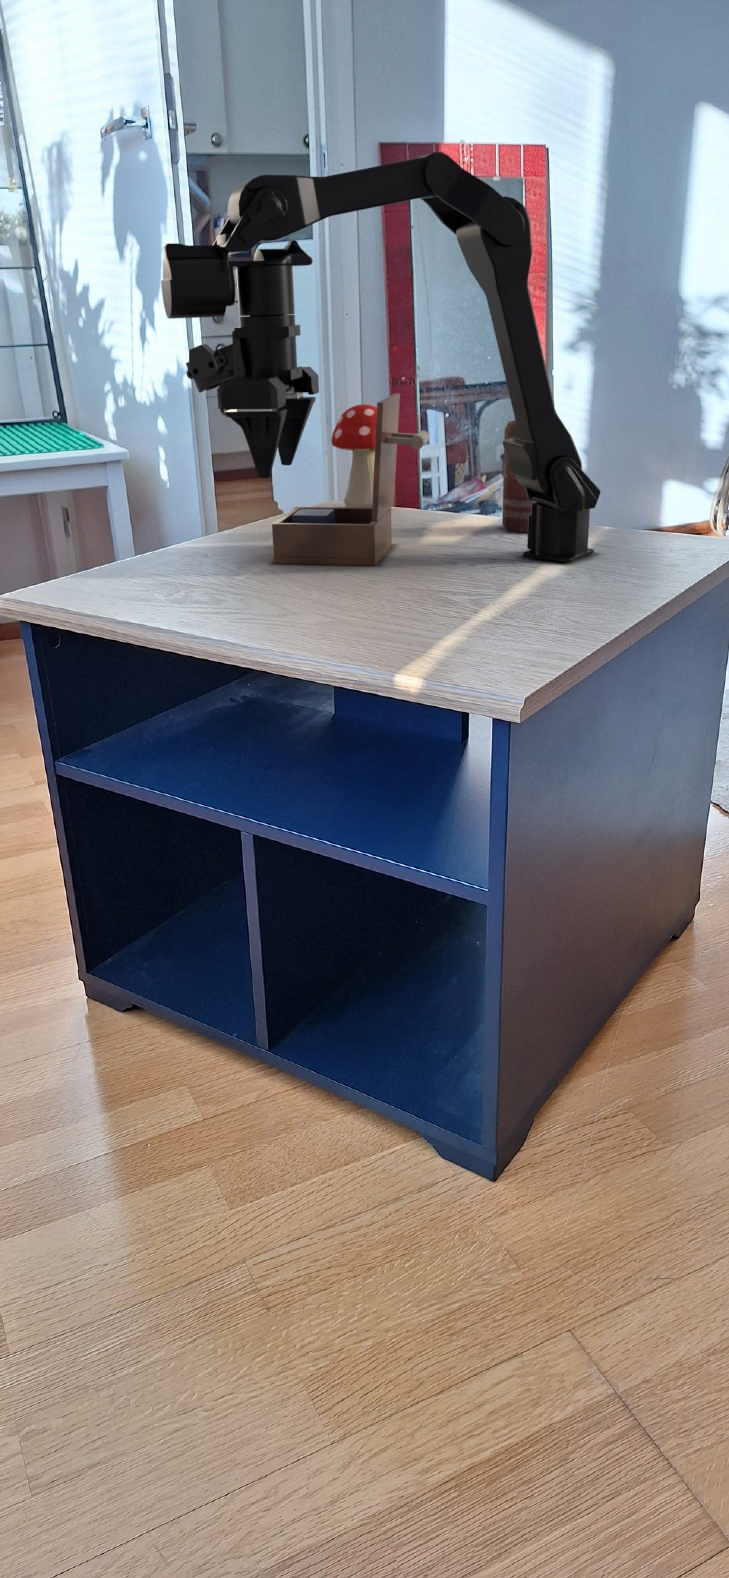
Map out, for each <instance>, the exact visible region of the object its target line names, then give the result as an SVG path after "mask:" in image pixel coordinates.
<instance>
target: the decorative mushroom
mask: <svg viewBox="0 0 729 1578" xmlns="http://www.w3.org/2000/svg"><path fill="white" fill-rule="evenodd" d="M376 418H377V406H374V405H371V404H366V403H365V404H364V403H363V404H356V405H353V406H351V407H349V408H348V409H346V410H345V411H344V412H343V413H342V414H341V415H340V416H339V418H338V419H337V422H336V425H335V427H334V429H333V432H332V434H331V446H332V447H334V448H337V449H338V450H343V451H352V457H351V466H350V470H349V480H348V485H347V491H346V493H345V496H344V498H343V503H344V507H372V502H373V481H374V460H375V439H376Z"/></svg>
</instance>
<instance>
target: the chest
mask: <svg viewBox="0 0 729 1578" xmlns="http://www.w3.org/2000/svg"><path fill="white" fill-rule="evenodd" d="M300 509H334V510H335V524H319V523H292V515H293V514H295V513H296V512H297V511H299V510H300ZM271 532H272V533H271V534H272V547H273V548H272V549H273V563H274V565H275V564H277V565H278V564H279V565H281V564H282V565H327V566H328V565H329V566H335V565H336V566H376V565H377V564H378V563H379V561H380V560H381V559H382V558H383V557H384V556H385V554H386V553H387V552H388V550H389V549H391V547H392V545H393V541H392V540H393V537H392V535H393V533H392V507H391V508H390V509H389V510H388V511H387V512H386V513H385V514H384V515H383V516H382V517H381V518H380V519H379V521H378V522H372V507H346V506H295V507H293V508H292V509H291V510H289V511H288V512H286V513H285V514H283V515H282V516H281V517H280V518H278V519H277V520H276V521H274V522H273V523H272V524H271Z"/></svg>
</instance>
